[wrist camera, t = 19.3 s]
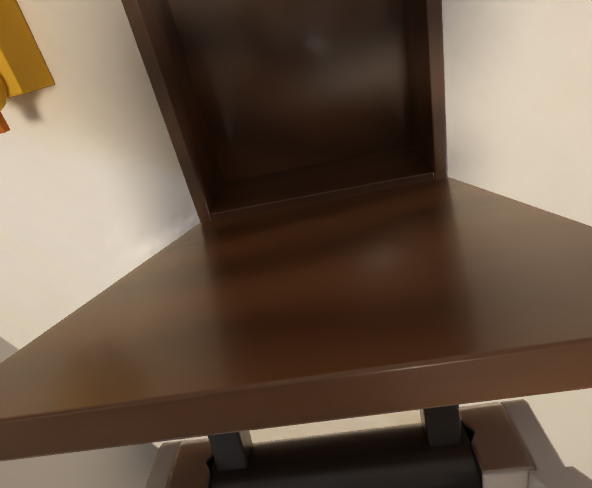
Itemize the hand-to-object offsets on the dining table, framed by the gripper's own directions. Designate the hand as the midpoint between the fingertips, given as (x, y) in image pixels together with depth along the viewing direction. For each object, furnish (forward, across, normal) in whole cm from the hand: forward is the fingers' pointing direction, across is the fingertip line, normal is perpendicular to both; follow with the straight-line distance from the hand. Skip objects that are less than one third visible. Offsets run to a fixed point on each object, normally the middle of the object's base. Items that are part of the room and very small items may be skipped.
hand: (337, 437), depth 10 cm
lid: (+6, 0, -2) cm, 7 cm away
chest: (+20, 0, -8) cm, 22 cm away
